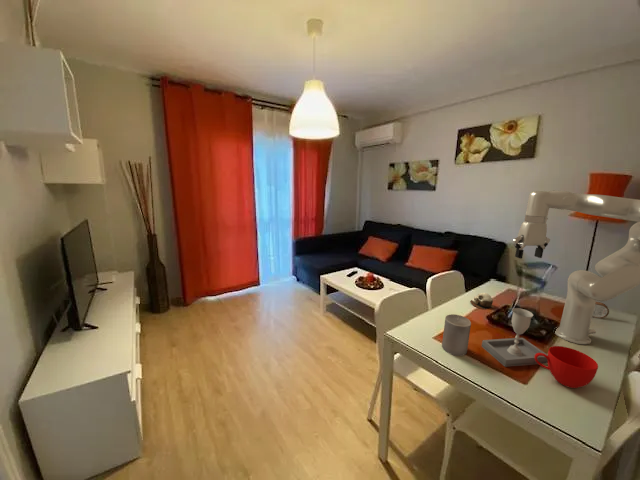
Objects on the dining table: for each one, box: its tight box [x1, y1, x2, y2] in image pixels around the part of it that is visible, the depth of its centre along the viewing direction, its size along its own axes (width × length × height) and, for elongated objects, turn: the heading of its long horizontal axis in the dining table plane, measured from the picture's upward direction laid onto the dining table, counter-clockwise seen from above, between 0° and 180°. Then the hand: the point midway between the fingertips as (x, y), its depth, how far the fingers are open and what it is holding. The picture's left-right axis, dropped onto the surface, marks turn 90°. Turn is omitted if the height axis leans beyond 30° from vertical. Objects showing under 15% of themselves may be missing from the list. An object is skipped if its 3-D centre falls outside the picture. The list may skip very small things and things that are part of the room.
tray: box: [481, 337, 548, 368], centre depth 112 cm, size 19×13×3 cm
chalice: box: [507, 307, 534, 356], centre depth 110 cm, size 7×7×18 cm
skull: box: [469, 292, 495, 311], centre depth 156 cm, size 12×10×10 cm
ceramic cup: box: [534, 345, 599, 389], centre depth 97 cm, size 13×17×10 cm
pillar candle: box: [441, 314, 472, 357], centre depth 114 cm, size 10×10×15 cm
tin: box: [592, 301, 610, 319], centre depth 144 cm, size 15×3×8 cm, turn 58°
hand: (528, 257), depth 122 cm, fingers open, 9 cm apart
